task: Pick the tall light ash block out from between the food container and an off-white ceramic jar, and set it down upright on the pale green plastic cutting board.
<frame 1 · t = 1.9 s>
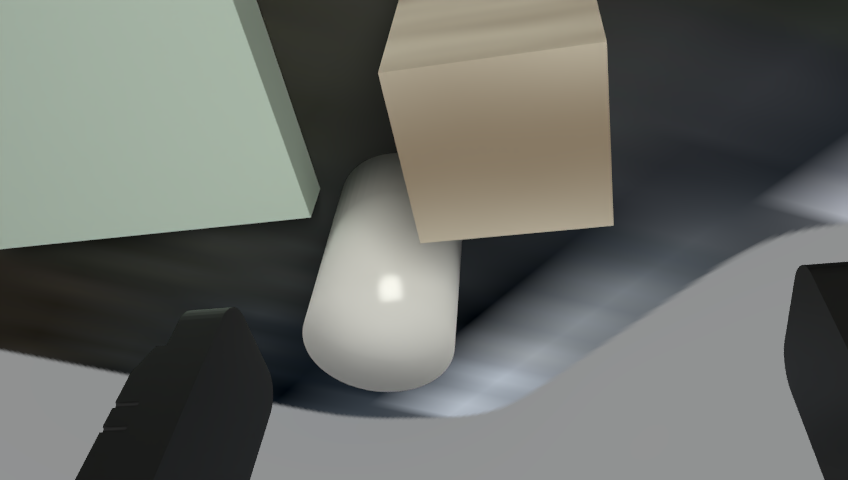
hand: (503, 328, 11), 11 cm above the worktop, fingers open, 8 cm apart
ceramic jar: (402, 205, 24), on the worktop
ash block: (503, 8, 19), on the worktop
cutting board: (61, 4, 20), on the worktop
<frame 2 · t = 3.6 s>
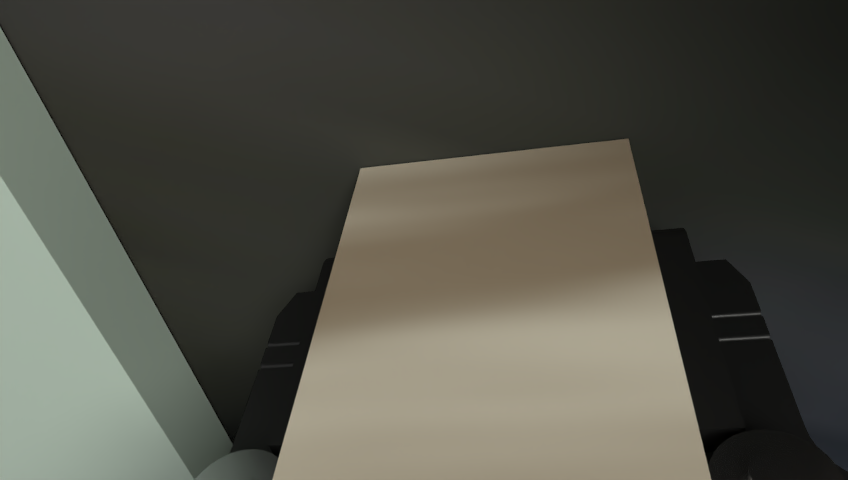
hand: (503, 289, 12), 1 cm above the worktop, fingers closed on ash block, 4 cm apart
ash block: (505, 256, 12), on the worktop, touching gripper
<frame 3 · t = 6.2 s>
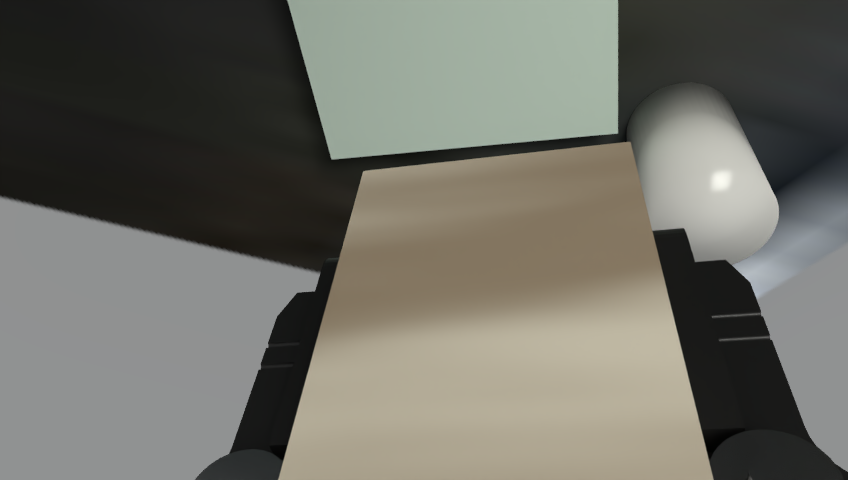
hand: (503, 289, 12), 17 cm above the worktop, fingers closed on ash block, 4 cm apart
ceramic jar: (679, 129, 29), on the worktop
ash block: (507, 258, 12), point 16 cm above the worktop, touching gripper
when the fingers open (4 cm above the worktop, at t = 9.3 s): ash block drops 1 cm, resting on cutting board.
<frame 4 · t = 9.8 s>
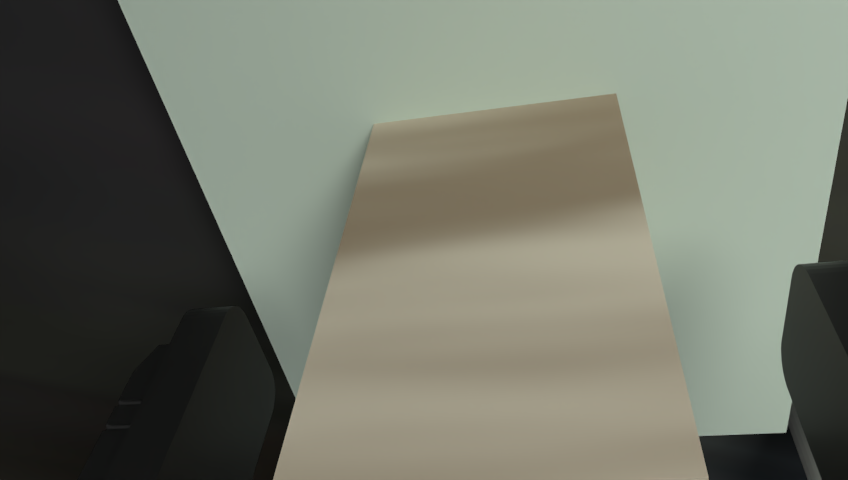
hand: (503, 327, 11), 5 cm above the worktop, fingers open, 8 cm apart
ash block: (505, 206, 13), point 1 cm above the worktop, touching cutting board
cutting board: (504, 160, 14), on the worktop
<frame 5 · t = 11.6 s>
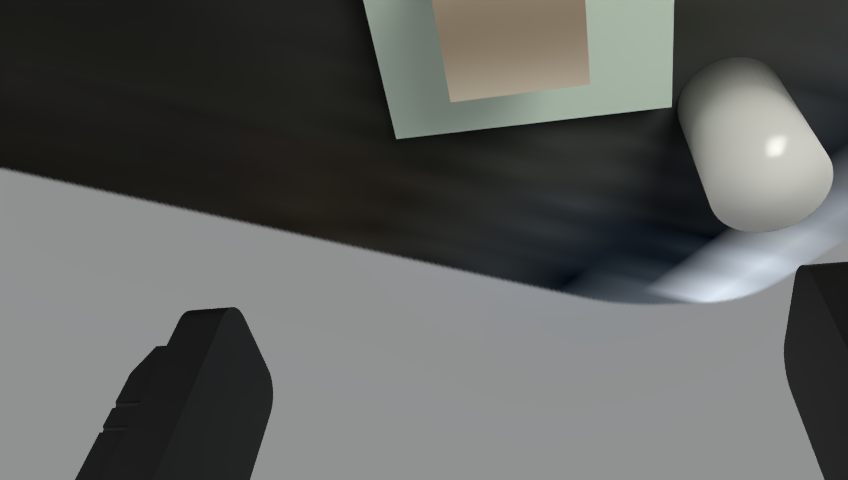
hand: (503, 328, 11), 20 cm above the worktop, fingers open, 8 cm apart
ceramic jar: (728, 103, 30), on the worktop
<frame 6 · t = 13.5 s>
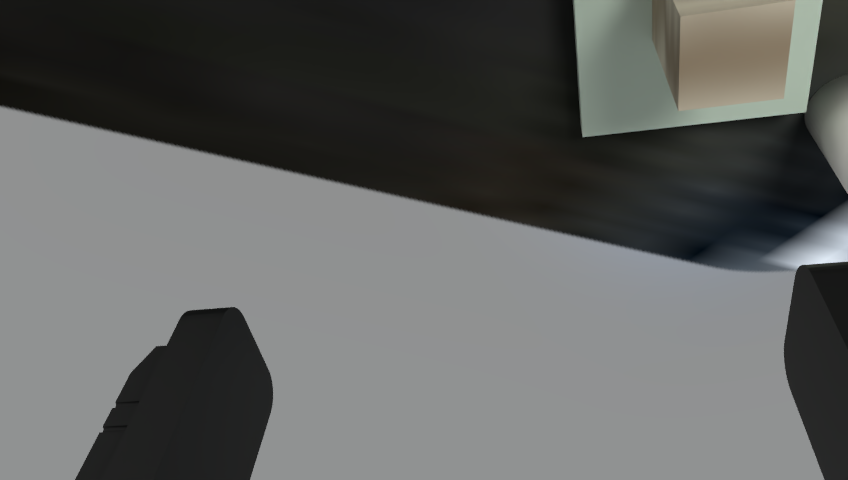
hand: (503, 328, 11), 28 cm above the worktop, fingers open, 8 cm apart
ceramic jar: (846, 108, 38), on the worktop
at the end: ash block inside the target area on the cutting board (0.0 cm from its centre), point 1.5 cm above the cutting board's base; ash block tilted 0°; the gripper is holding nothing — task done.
